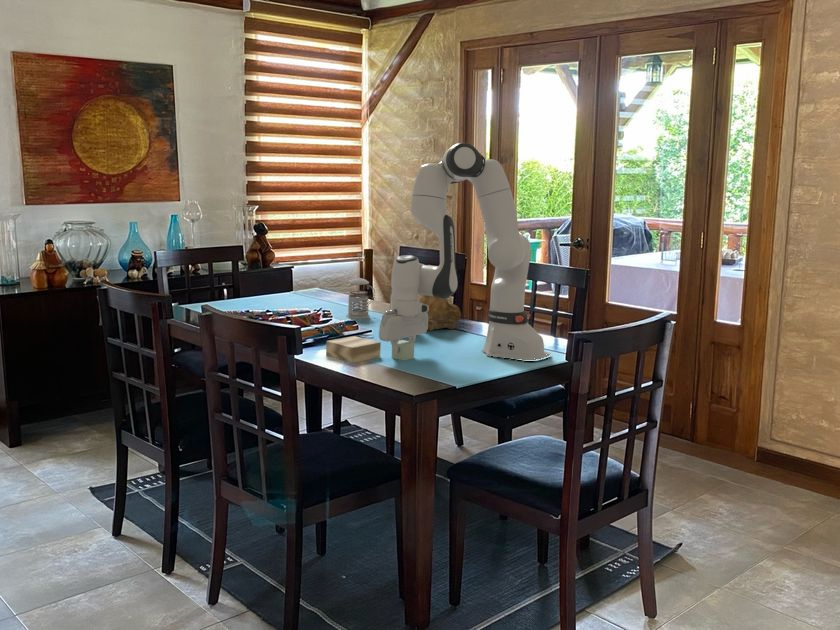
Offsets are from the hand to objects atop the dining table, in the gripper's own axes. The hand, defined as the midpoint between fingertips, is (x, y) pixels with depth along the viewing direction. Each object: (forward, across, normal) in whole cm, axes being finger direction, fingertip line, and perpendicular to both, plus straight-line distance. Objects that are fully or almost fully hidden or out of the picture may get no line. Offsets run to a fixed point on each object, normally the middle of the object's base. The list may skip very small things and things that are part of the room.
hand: (403, 351), depth 259 cm
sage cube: (+2, 0, 0) cm, 2 cm away
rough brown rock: (+2, +47, +22) cm, 52 cm away
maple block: (+2, -10, +12) cm, 16 cm away
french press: (+2, +41, +56) cm, 69 cm away
